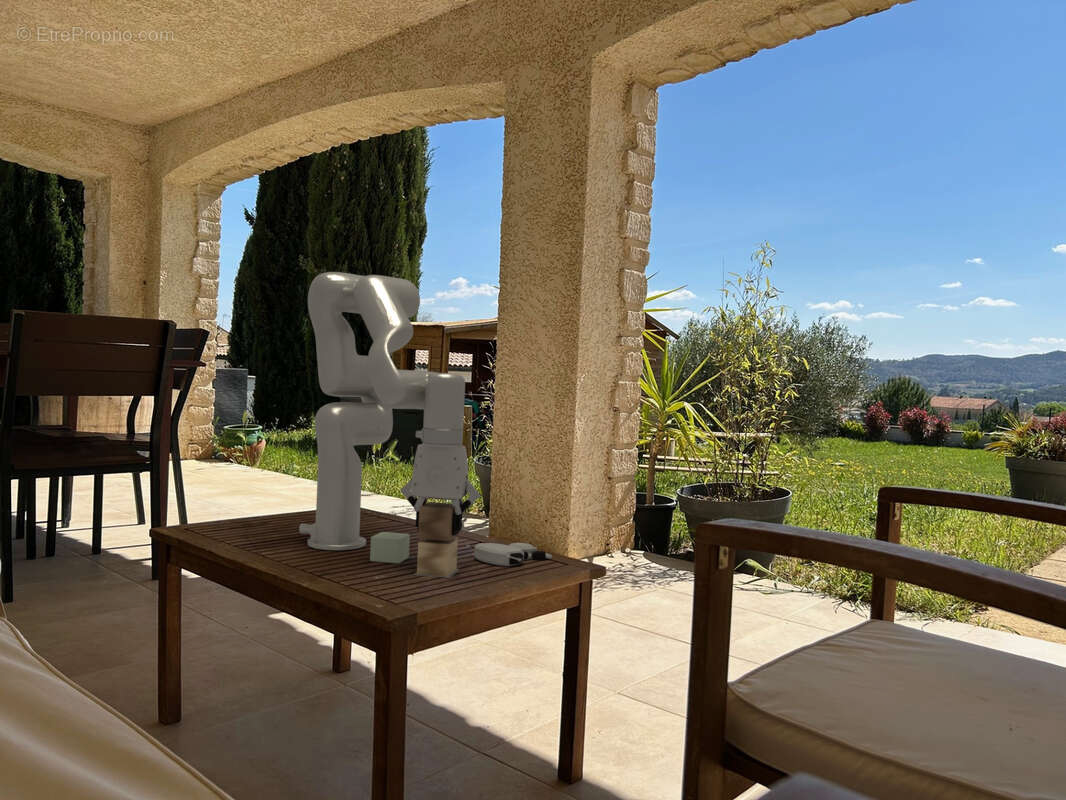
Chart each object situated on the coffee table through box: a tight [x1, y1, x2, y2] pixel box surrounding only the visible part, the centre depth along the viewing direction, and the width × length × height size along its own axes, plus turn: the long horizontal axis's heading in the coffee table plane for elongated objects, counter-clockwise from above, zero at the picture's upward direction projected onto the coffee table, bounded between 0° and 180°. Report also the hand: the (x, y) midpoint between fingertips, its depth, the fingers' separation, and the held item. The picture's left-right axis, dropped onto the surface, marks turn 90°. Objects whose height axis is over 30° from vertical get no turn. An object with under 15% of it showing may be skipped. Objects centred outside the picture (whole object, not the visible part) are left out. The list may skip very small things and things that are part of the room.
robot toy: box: [466, 542, 553, 567], centre depth 165 cm, size 12×4×15 cm
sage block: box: [369, 531, 411, 564], centre depth 160 cm, size 6×6×6 cm
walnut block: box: [417, 501, 459, 541], centre depth 151 cm, size 6×6×6 cm
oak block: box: [416, 537, 459, 578], centre depth 151 cm, size 6×6×6 cm
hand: (438, 531), depth 151 cm, fingers closed on walnut block, 5 cm apart
